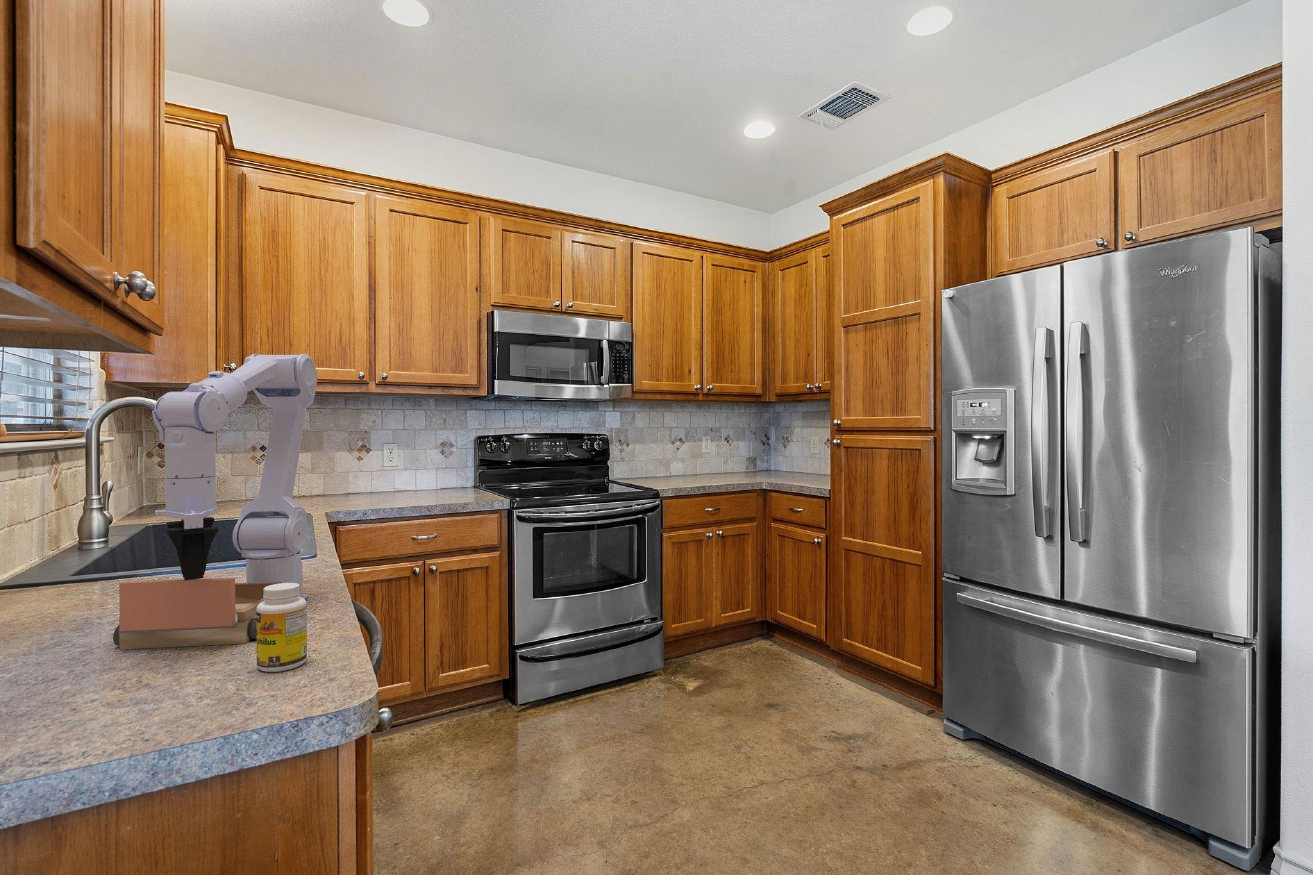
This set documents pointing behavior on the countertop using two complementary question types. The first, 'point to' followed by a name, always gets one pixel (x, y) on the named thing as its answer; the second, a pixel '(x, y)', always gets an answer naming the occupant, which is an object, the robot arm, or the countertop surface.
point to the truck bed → (244, 631)
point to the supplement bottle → (281, 628)
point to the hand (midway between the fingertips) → (192, 573)
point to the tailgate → (177, 605)
